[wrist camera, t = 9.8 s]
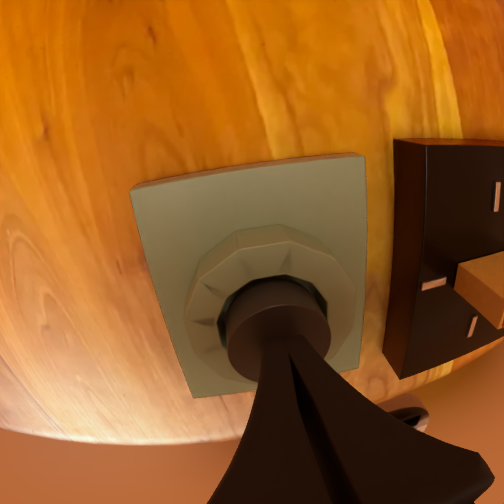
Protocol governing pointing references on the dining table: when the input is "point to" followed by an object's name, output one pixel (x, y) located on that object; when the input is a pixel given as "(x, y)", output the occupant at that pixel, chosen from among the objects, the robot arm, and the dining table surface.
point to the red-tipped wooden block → (483, 286)
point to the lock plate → (441, 248)
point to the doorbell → (255, 253)
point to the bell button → (272, 322)
